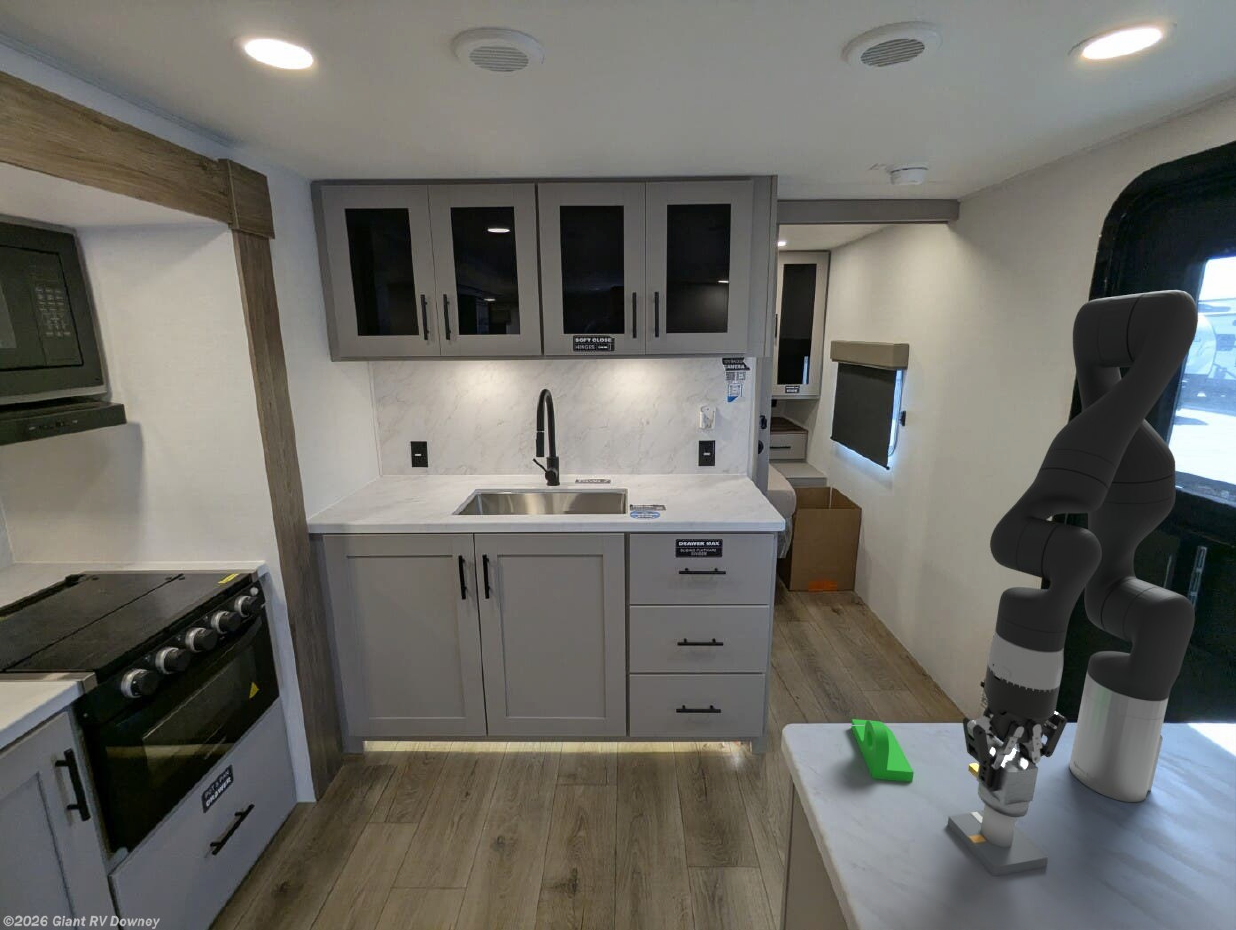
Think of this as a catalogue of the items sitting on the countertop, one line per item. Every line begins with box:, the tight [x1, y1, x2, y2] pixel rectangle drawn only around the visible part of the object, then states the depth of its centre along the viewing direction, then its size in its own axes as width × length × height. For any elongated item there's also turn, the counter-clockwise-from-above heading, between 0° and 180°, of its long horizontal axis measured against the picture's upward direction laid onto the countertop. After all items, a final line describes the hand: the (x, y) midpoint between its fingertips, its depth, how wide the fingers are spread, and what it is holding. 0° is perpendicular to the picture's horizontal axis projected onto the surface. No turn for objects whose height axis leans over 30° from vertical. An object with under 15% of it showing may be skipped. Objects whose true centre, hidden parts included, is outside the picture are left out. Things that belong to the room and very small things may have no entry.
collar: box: [967, 747, 1039, 818], centre depth 74 cm, size 6×8×7 cm
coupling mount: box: [947, 803, 1049, 877], centre depth 75 cm, size 8×8×7 cm
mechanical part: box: [850, 718, 915, 782], centre depth 92 cm, size 12×6×8 cm, turn 172°
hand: (1004, 783), depth 73 cm, fingers closed on collar, 4 cm apart
